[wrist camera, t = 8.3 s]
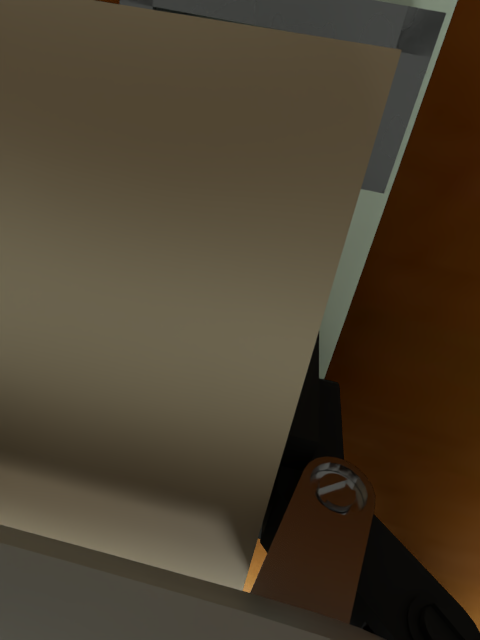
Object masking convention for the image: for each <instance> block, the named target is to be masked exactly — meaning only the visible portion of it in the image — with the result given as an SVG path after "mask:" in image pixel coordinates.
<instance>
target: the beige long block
mask: <svg viewBox="0 0 480 640" xmlns="http://www.w3.org/2000/svg"><path fill="white" fill-rule="evenodd" d="M401 51H402V50H400V49H394V48H388V47H381V46H375V45H369V44H363V43H356V42H350V41H344V40H338V39H332V38H325V37H319V36H313V35H307V34H300V33H294V32H288V31H282V30H275V29H269V28H263V27H257V26H251V25H244V24H238V23H232V22H226V21H219V20H213V19H207V18H201V17H195V16H188V15H182V14H176V13H170V12H163V11H157V10H151V9H145V8H138V7H132V6H126V5H120V4H114V3H107V2H101V1H95V0H0V525H4V526H8V527H11V528H15V529H19V530H22V531H26V532H30V533H34V534H37V535H41V536H45V537H48V538H52V539H56V540H59V541H63V542H67V543H70V544H74V545H78V546H82V547H85V548H89V549H93V550H96V551H100V552H104V553H107V554H111V555H115V556H118V557H122V558H125V559H129V560H133V561H136V562H140V563H144V564H147V565H151V566H154V567H158V568H162V569H165V570H169V571H173V572H176V573H180V574H183V575H187V576H191V577H194V578H198V579H201V580H205V581H209V582H212V583H216V584H220V585H223V586H227V587H230V588H234V589H237V590H241V591H242V590H243V587H244V583H245V580H246V577H247V573H248V570H249V566H250V563H251V560H252V556H253V553H254V550H255V546H256V543H257V539H258V536H259V533H260V529H261V526H262V522H263V519H264V516H265V512H266V509H267V505H268V502H269V499H270V495H271V492H272V488H273V485H274V482H275V478H276V475H277V471H278V468H279V465H280V461H281V458H282V455H283V451H284V448H285V444H286V441H287V438H288V434H289V431H290V427H291V424H292V421H293V417H294V414H295V410H296V407H297V404H298V400H299V397H300V393H301V390H302V387H303V383H304V380H305V377H306V373H307V370H308V366H309V363H310V360H311V356H312V353H313V349H314V346H315V343H316V339H317V336H318V332H319V329H320V326H321V322H322V319H323V315H324V312H325V309H326V305H327V302H328V299H329V295H330V292H331V288H332V285H333V282H334V278H335V275H336V271H337V268H338V265H339V261H340V258H341V254H342V251H343V248H344V244H345V241H346V237H347V234H348V231H349V227H350V224H351V220H352V217H353V214H354V210H355V207H356V204H357V200H358V197H359V193H360V190H361V187H362V183H363V180H364V176H365V173H366V170H367V166H368V163H369V159H370V156H371V153H372V149H373V146H374V142H375V139H376V136H377V132H378V129H379V126H380V122H381V119H382V115H383V112H384V109H385V105H386V102H387V98H388V95H389V92H390V88H391V85H392V81H393V78H394V75H395V71H396V68H397V64H398V61H399V58H400V54H401Z"/></svg>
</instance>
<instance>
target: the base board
mask: <svg viewBox="0 0 480 640" xmlns="http://www.w3.org/2000/svg"><path fill="white" fill-rule="evenodd" d="M376 1H382V2H388V3H393V4H399V5H405V6H410V7H416V8H422V9H427V10H433V11H438V12H444V13H446V16H445V18H444V21H443V24H442V27H441V30H440V33H439V36H438V39H437V42H436V44H435V47H434V50H433V53H432V56H431V59H430V62H429V65H428V68H427V71H426V73H425V76H424V79H423V82H422V85H421V88H420V91H419V94H418V97H417V100H416V102H415V105H414V108H413V111H412V114H411V117H410V120H409V123H408V126H407V128H406V131H405V134H404V137H403V140H402V143H401V146H400V149H399V152H398V155H397V157H396V160H395V163H394V166H393V169H392V172H391V175H390V178H389V181H388V183H387V186H386V189H385V192H384V194H383V193H378V192H373V191H368V190H363V189H361V190H360V193H359V197H358V200H357V204H356V207H355V210H354V214H353V217H352V220H351V224H350V227H349V231H348V234H347V237H346V241H345V244H344V248H343V251H342V254H341V258H340V261H339V265H338V268H337V271H336V275H335V278H334V282H333V285H332V288H331V292H330V295H329V299H328V302H327V305H326V309H325V312H324V315H323V319H322V322H321V326H320V329H319V378H321V379H324V378H325V375H326V372H327V369H328V367H329V364H330V361H331V358H332V355H333V352H334V349H335V347H336V344H337V341H338V338H339V335H340V332H341V330H342V327H343V324H344V321H345V318H346V315H347V313H348V310H349V307H350V304H351V301H352V298H353V296H354V293H355V290H356V287H357V284H358V281H359V278H360V276H361V273H362V270H363V267H364V264H365V261H366V259H367V256H368V253H369V250H370V247H371V244H372V242H373V239H374V236H375V233H376V230H377V227H378V225H379V222H380V219H381V216H382V213H383V210H384V208H385V205H386V202H387V199H388V196H389V193H390V190H391V188H392V185H393V182H394V179H395V176H396V173H397V171H398V168H399V165H400V162H401V159H402V156H403V154H404V151H405V148H406V145H407V142H408V139H409V137H410V134H411V131H412V128H413V125H414V122H415V120H416V117H417V114H418V111H419V108H420V105H421V102H422V100H423V97H424V94H425V91H426V88H427V85H428V83H429V80H430V77H431V74H432V71H433V68H434V66H435V63H436V60H437V57H438V54H439V51H440V49H441V46H442V43H443V40H444V37H445V34H446V31H447V29H448V26H449V23H450V20H451V17H452V14H453V12H454V9H455V6H456V3H457V0H376Z"/></svg>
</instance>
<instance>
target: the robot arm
mask: <svg viewBox="0 0 480 640" xmlns="http://www.w3.org/2000/svg"><path fill="white" fill-rule="evenodd" d="M374 509H375V493H374V490H373V487H372V485H371V483H370V482H369V480H368V478H367V477H366V476H365V475H364V474H363V473H362V472H361V471H360V470H359V469H358V468H357V467H356V466H354V465H352V464H351V463H349V462H347V461H345V460H344V454H343V437H342V420H341V404H340V388H339V384H338V383H337V382H333V381H329V380H325V379H321V378H319V332H318V336H317V339H316V343H315V346H314V349H313V353H312V356H311V360H310V363H309V366H308V370H307V373H306V377H305V380H304V383H303V387H302V390H301V393H300V397H299V400H298V404H297V407H296V410H295V414H294V417H293V421H292V424H291V427H290V431H289V434H288V438H287V441H286V444H285V448H284V451H283V455H282V458H281V461H280V465H279V468H278V471H277V475H276V478H275V482H274V485H273V488H272V492H271V495H270V499H269V502H268V505H267V509H266V512H265V516H264V519H263V522H262V526H261V529H260V533H259V536H258V538H259V539H260V543H261V544H262V546H263V547H264V549H265V550H266V552H267V556H266V558H265V560H264V562H263V565H262V567H261V569H260V572H259V574H258V576H257V579H256V581H255V583H254V585H253V588H252V590H251V592H250V593H248V592H244V591H241V590H237V589H234V588H230V587H227V586H223V585H220V584H216V583H212V582H209V581H205V580H201V579H198V578H194V577H191V576H187V575H183V574H180V573H176V572H173V571H169V570H165V569H162V568H158V567H154V566H151V565H147V564H144V563H140V562H136V561H133V560H129V559H125V558H122V557H118V556H115V555H111V554H107V553H104V552H100V551H96V550H93V549H89V548H85V547H82V546H78V545H74V544H70V543H67V542H63V541H59V540H56V539H52V538H48V537H45V536H41V535H37V534H34V533H30V532H26V531H22V530H19V529H15V528H11V527H8V526H4V525H0V640H480V632H479V630H478V628H477V627H476V625H475V623H474V621H473V620H472V619H471V618H470V616H469V615H468V614H467V613H466V611H465V610H464V609H463V608H462V607H461V606H460V605H459V603H458V602H457V601H456V600H455V599H454V598H453V597H452V596H451V595H450V594H449V593H448V592H447V591H446V590H445V589H444V588H443V587H442V586H441V585H440V583H439V582H438V581H437V580H436V579H435V578H434V577H433V576H432V575H431V574H430V573H429V572H428V571H427V570H426V569H425V568H424V567H423V566H422V564H421V563H420V562H419V561H418V560H417V559H416V558H415V557H414V556H413V555H412V554H411V553H410V552H409V551H408V550H407V549H406V548H405V547H404V545H403V544H402V543H401V542H400V541H399V540H398V539H397V538H396V537H395V536H394V535H393V534H392V533H391V532H390V531H389V530H388V529H387V528H386V527H385V525H384V524H383V523H382V522H381V521H380V520H379V519H378V518H377V517H376V516H375V515H374V514H373V513H374Z"/></svg>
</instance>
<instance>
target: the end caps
mask: <svg viewBox="0 0 480 640" xmlns="http://www.w3.org/2000/svg"><path fill="white" fill-rule="evenodd" d="M120 5H126V6H132V7H138V8H145V9H151V10H157V11H163V12H170V13H176V14H182V15H188V16H195V17H201V18H207V19H213V20H219V21H226V22H232V23H238V24H244V25H251V26H257V27H263V28H269V29H275V30H282V31H288V32H294V33H300V34H307V35H313V36H319V37H325V38H332V39H338V40H344V41H350V42H356V43H363V44H369V45H375V46H381V47H388V48H394V49H400V50H402V51H401V54H400V58H399V61H398V64H397V68H396V71H395V75H394V78H393V81H392V85H391V88H390V92H389V95H388V98H387V102H386V105H385V109H384V112H383V115H382V119H381V122H380V126H379V129H378V132H377V136H376V139H375V142H374V146H373V149H372V153H371V156H370V159H369V163H368V166H367V170H366V173H365V176H364V180H363V183H362V187H361V189H363V190H368V191H373V192H378V193H383V194H384V192H385V189H386V186H387V183H388V181H389V178H390V175H391V172H392V169H393V166H394V163H395V160H396V157H397V155H398V152H399V149H400V146H401V143H402V140H403V137H404V134H405V131H406V128H407V126H408V123H409V120H410V117H411V114H412V111H413V108H414V105H415V102H416V100H417V97H418V94H419V91H420V88H421V85H422V82H423V79H424V76H425V73H426V71H427V68H428V65H429V62H430V59H431V56H432V53H433V50H434V47H435V44H436V42H437V39H438V36H439V33H440V30H441V27H442V24H443V21H444V18H445V16H446V13H444V12H438V11H433V10H427V9H422V8H416V7H410V6H405V5H399V4H393V3H388V2H382V1H376V0H120Z"/></svg>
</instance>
